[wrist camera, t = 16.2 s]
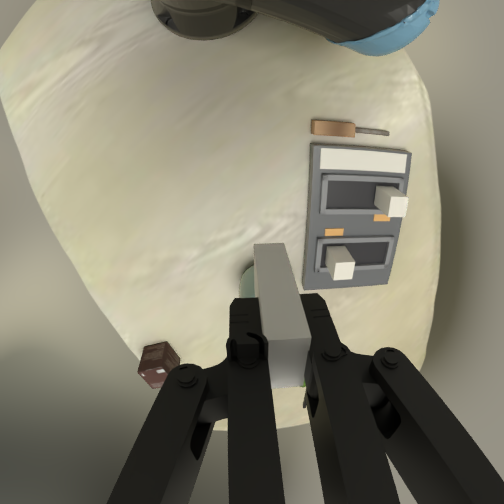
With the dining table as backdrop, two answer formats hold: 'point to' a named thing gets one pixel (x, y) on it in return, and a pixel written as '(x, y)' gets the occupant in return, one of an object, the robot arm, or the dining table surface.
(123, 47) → the dining table surface
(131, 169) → the dining table surface
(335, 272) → the tab
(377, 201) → the tab
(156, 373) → the box
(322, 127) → the screwdriver
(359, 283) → the switch board
